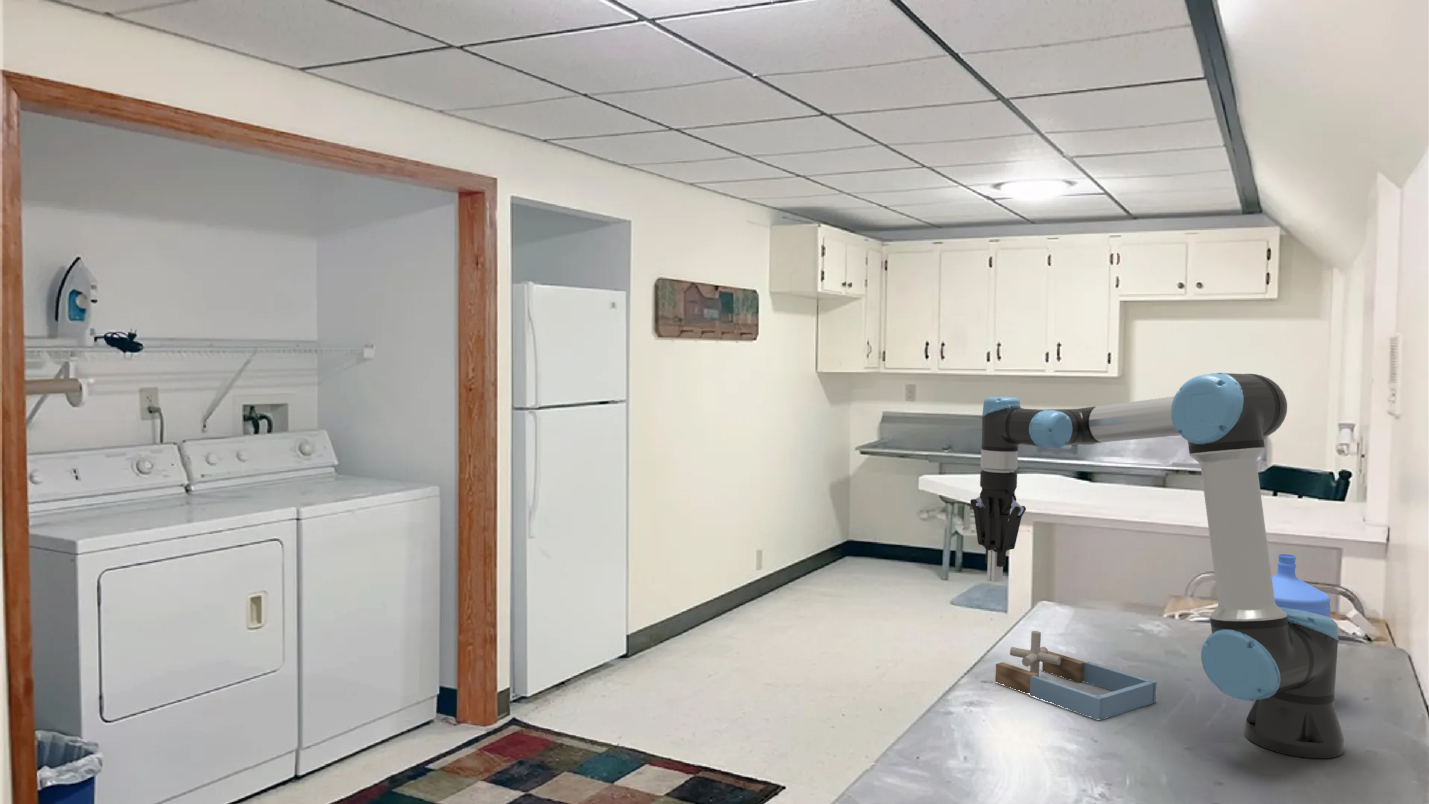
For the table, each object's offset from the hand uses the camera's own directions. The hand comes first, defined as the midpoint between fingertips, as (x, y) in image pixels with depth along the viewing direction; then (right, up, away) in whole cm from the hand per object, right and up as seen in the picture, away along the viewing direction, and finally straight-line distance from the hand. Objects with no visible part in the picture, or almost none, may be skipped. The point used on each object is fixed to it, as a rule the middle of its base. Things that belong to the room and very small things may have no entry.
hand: (994, 580), depth 220 cm
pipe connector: (+6, -19, -8) cm, 22 cm away
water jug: (+53, -21, -14) cm, 58 cm away
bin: (+13, -20, -19) cm, 30 cm away
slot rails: (+7, -19, -9) cm, 22 cm away
